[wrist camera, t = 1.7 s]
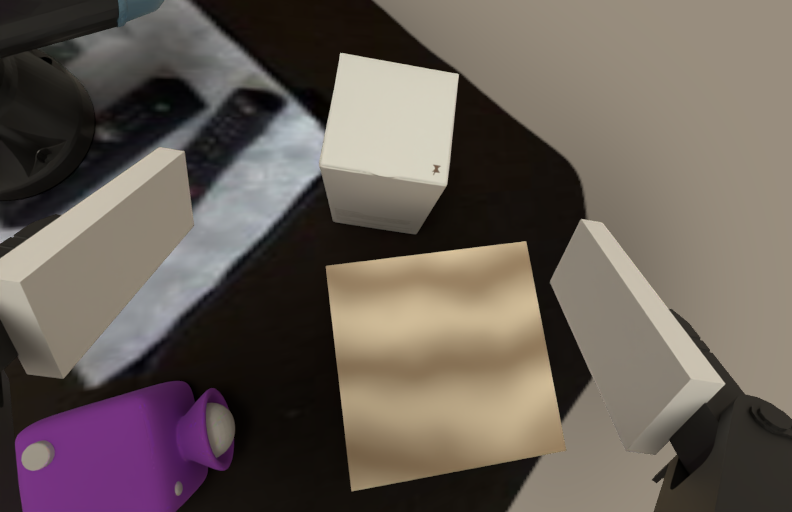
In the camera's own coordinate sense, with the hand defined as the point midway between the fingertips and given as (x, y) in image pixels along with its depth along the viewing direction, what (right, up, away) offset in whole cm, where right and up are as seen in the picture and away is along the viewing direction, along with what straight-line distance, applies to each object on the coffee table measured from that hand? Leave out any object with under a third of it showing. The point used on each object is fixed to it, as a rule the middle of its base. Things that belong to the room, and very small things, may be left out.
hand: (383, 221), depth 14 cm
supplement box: (-1, +6, +29) cm, 30 cm away
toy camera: (-20, -17, +23) cm, 35 cm away
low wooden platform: (+3, -10, +27) cm, 29 cm away
